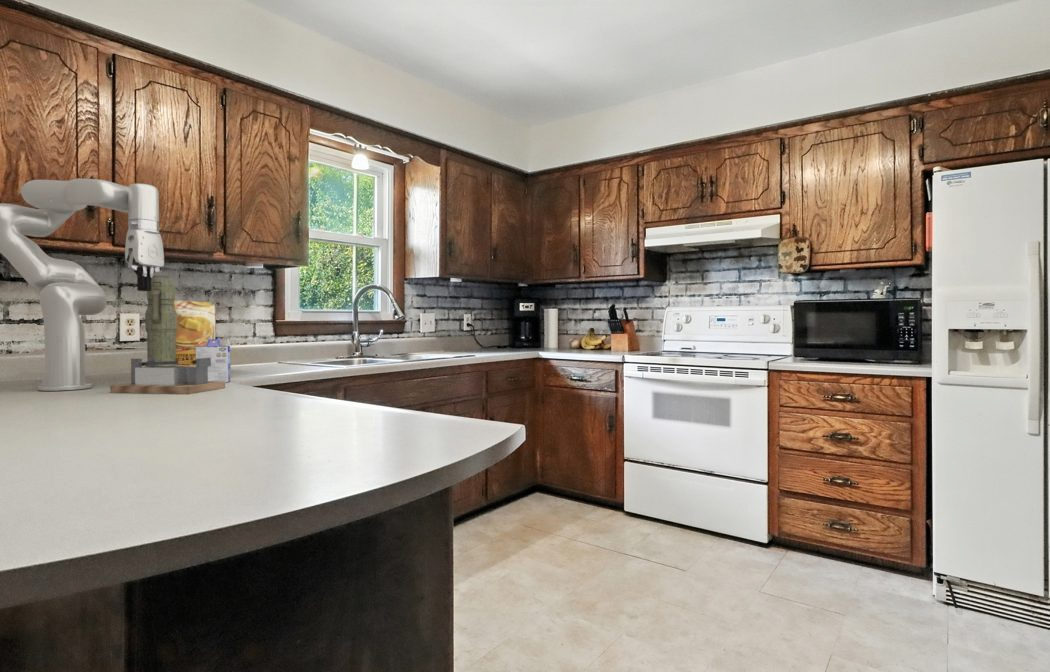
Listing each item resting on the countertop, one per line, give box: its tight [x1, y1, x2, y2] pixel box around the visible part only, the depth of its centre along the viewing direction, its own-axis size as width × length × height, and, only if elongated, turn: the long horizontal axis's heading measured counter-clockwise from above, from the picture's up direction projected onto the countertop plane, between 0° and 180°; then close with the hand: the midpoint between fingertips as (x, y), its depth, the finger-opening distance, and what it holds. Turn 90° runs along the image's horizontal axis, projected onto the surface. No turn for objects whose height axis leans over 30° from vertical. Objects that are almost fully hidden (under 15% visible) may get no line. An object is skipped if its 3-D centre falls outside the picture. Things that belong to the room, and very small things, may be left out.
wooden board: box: [109, 381, 226, 395], centre depth 172 cm, size 24×16×2 cm, turn 83°
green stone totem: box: [144, 275, 177, 367], centre depth 191 cm, size 9×12×35 cm
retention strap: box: [142, 360, 196, 367], centre depth 172 cm, size 18×6×1 cm, turn 83°
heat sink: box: [135, 365, 196, 386], centre depth 172 cm, size 12×12×5 cm
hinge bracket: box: [130, 357, 158, 384], centre depth 173 cm, size 2×7×7 cm, turn 173°
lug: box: [188, 358, 211, 385], centre depth 171 cm, size 3×5×8 cm
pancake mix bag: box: [174, 299, 217, 365], centre depth 206 cm, size 7×19×28 cm, turn 118°
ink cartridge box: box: [196, 338, 232, 383], centre depth 196 cm, size 10×6×14 cm, turn 110°
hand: (144, 290), depth 171 cm, fingers closed
